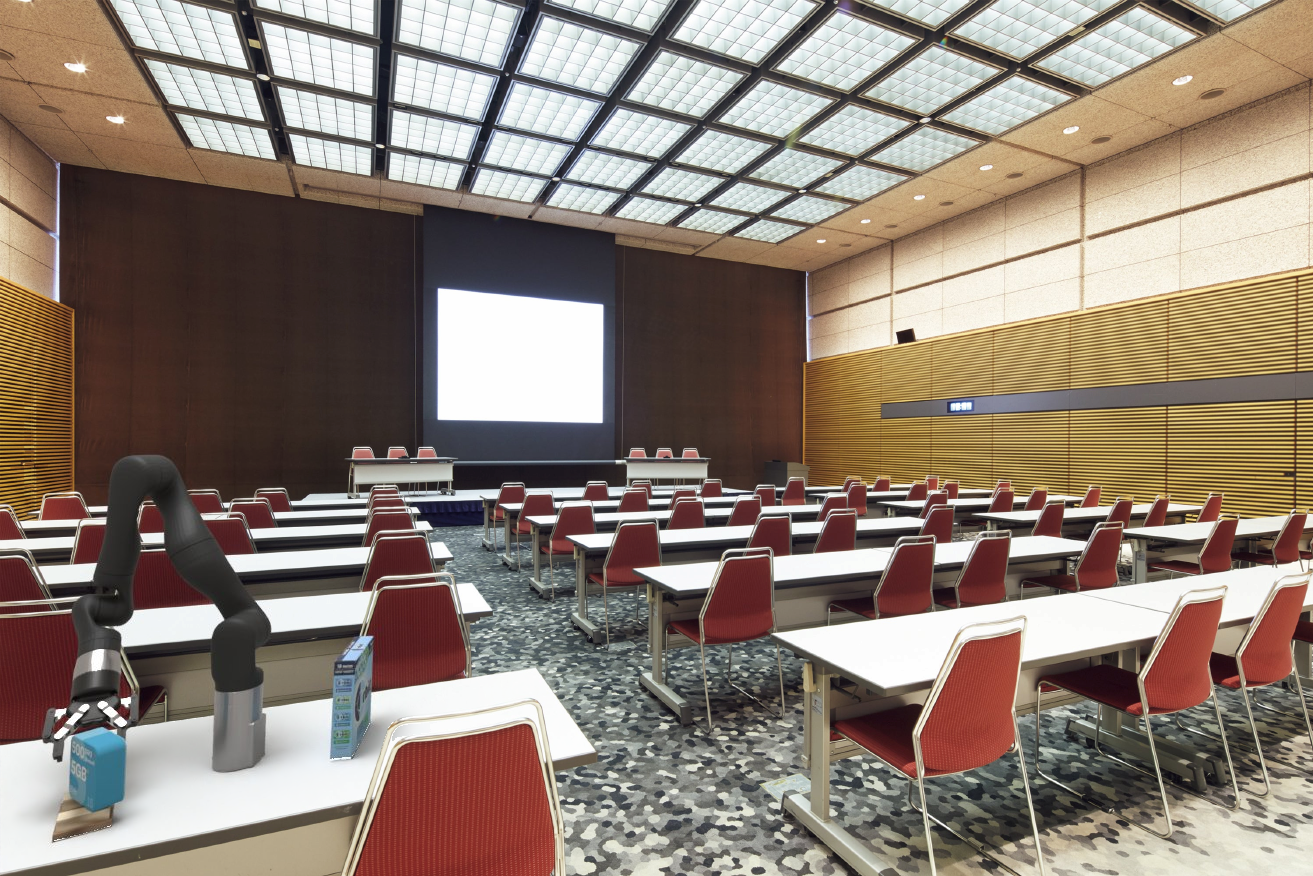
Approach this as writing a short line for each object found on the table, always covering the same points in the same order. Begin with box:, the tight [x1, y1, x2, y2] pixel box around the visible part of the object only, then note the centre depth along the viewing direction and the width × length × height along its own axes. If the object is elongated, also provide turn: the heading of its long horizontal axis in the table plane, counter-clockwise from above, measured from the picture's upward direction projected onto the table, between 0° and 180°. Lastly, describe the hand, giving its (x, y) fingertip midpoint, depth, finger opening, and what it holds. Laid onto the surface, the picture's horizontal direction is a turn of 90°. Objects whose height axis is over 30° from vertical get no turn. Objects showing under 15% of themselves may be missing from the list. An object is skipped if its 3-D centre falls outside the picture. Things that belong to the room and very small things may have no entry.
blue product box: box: [329, 635, 375, 760], centre depth 153 cm, size 20×5×23 cm, turn 13°
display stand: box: [51, 792, 115, 842], centre depth 120 cm, size 8×13×3 cm, turn 38°
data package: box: [68, 726, 127, 812], centre depth 121 cm, size 12×4×12 cm, turn 60°
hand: (89, 754), depth 122 cm, fingers open, 8 cm apart
